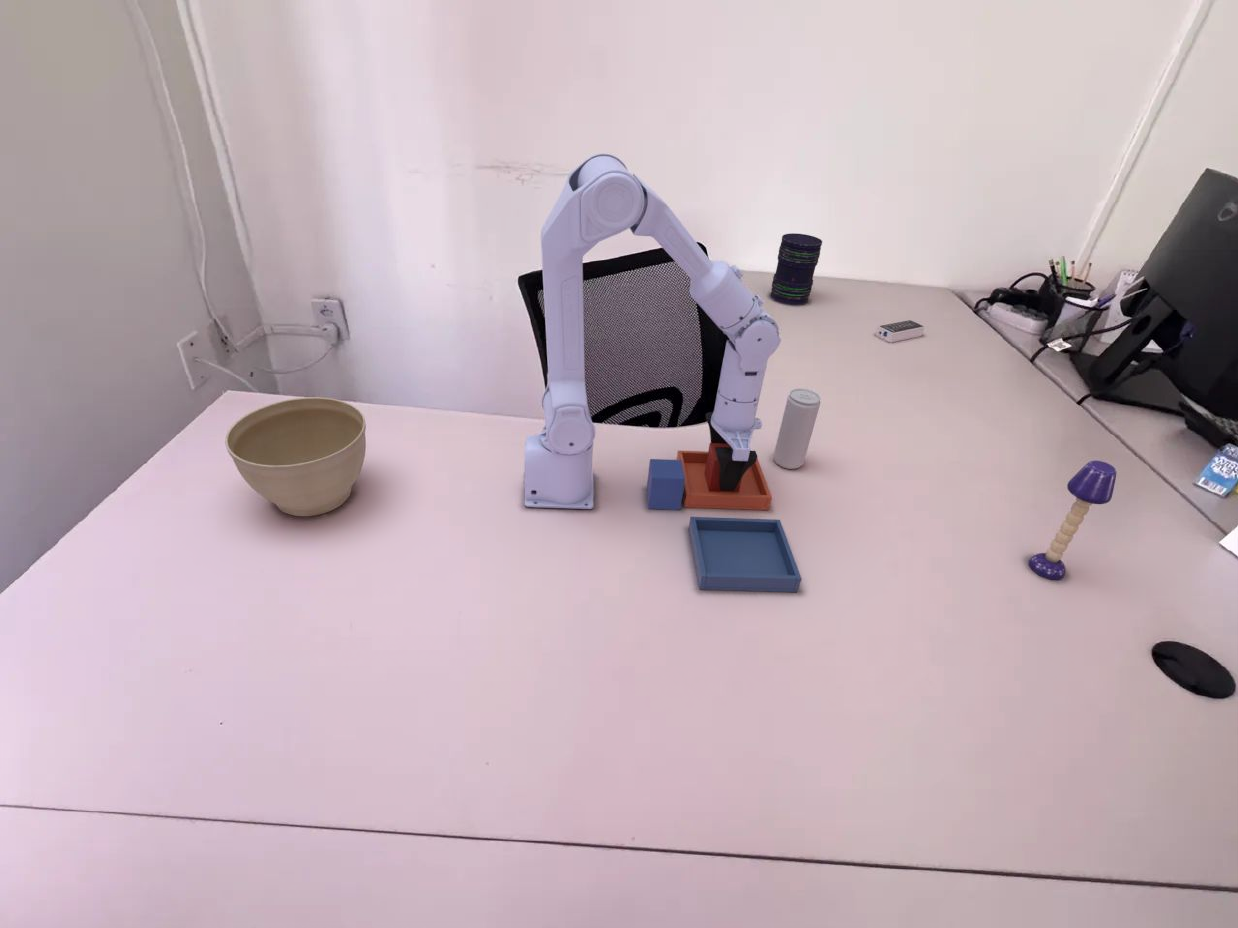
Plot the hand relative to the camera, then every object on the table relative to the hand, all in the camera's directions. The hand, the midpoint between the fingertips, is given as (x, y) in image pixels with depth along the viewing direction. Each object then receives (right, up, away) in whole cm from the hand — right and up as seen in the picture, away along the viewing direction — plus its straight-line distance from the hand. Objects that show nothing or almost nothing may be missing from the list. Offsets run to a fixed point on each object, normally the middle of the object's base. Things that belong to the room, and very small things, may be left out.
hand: (722, 473), depth 96 cm
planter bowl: (-57, -3, -7) cm, 57 cm away
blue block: (-9, -4, -3) cm, 10 cm away
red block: (0, -1, +1) cm, 2 cm away
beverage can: (+12, +2, +8) cm, 14 cm away
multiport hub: (+50, +31, +55) cm, 80 cm away
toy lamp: (+41, -13, -9) cm, 44 cm away
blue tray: (0, -11, -12) cm, 16 cm away
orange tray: (0, -2, +1) cm, 2 cm away
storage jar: (+28, +44, +71) cm, 88 cm away
